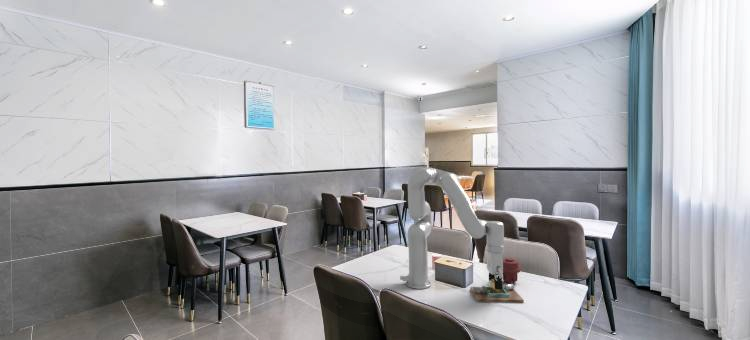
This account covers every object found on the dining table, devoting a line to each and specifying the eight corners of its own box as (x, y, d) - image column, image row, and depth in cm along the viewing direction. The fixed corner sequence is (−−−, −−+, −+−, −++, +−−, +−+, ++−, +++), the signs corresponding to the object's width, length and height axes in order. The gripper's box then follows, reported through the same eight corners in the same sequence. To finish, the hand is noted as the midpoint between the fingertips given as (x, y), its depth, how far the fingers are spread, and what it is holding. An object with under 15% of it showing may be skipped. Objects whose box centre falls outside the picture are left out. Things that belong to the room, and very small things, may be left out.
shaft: (507, 293, 150) (507, 285, 150) (501, 290, 153) (501, 283, 153) (515, 291, 152) (515, 283, 152) (509, 288, 155) (509, 281, 155)
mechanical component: (518, 279, 169) (522, 287, 159) (498, 278, 171) (501, 285, 161) (518, 256, 168) (522, 262, 159) (497, 255, 170) (501, 261, 161)
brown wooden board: (477, 301, 143) (477, 292, 143) (470, 289, 157) (470, 280, 157) (523, 302, 141) (523, 292, 141) (512, 290, 155) (512, 281, 155)
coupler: (491, 294, 147) (491, 280, 147) (488, 290, 152) (488, 277, 152) (502, 295, 146) (502, 281, 146) (499, 291, 151) (499, 277, 151)
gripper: (482, 243, 157) (482, 278, 158) (492, 253, 140) (492, 292, 141) (498, 243, 157) (498, 278, 157) (509, 253, 140) (509, 292, 140)
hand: (495, 284), depth 149 cm, fingers open, 9 cm apart
